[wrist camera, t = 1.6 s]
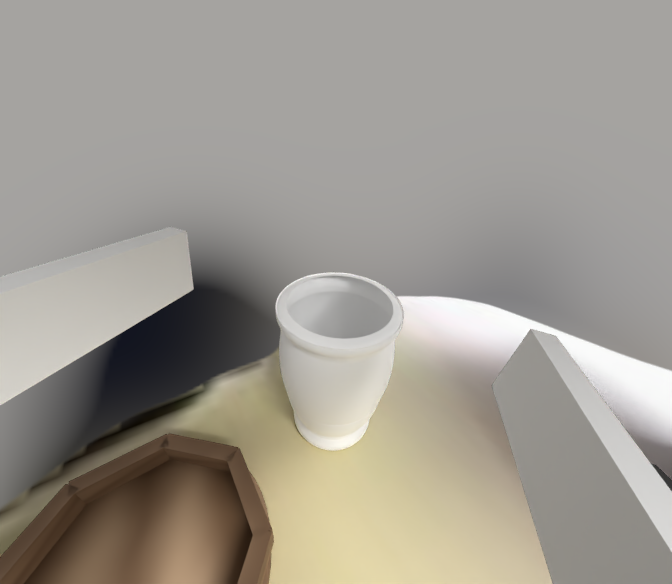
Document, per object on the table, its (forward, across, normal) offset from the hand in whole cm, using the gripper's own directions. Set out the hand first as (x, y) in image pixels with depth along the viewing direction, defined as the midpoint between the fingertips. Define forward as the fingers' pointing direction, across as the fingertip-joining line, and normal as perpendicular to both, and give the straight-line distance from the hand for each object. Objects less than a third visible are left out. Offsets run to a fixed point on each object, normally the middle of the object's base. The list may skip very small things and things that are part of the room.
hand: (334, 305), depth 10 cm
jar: (+10, 0, -21) cm, 23 cm away
